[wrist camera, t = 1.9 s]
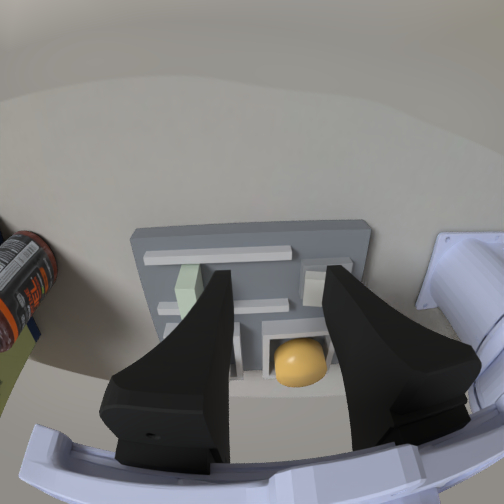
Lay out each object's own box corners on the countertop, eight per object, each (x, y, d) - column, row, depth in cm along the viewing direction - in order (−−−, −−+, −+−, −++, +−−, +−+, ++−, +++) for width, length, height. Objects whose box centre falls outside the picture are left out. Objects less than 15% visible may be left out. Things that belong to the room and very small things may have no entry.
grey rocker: (351, 273, 19) (352, 282, 18) (346, 299, 20) (346, 308, 19) (305, 270, 19) (305, 278, 18) (303, 296, 20) (302, 305, 19)
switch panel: (363, 219, 20) (379, 240, 17) (336, 351, 27) (343, 375, 25) (136, 228, 20) (122, 250, 17) (172, 358, 27) (168, 382, 24)
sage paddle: (199, 262, 19) (194, 288, 17) (205, 299, 21) (201, 327, 19) (182, 263, 19) (174, 289, 17) (189, 300, 21) (183, 327, 19)
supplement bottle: (62, 293, 23) (6, 390, 13) (15, 274, 22) (-46, 357, 12) (59, 237, 20) (-22, 337, 10) (8, 220, 19) (-74, 300, 9)
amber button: (325, 335, 22) (331, 355, 20) (319, 366, 24) (323, 384, 22) (274, 339, 22) (276, 359, 20) (273, 370, 24) (275, 389, 22)
